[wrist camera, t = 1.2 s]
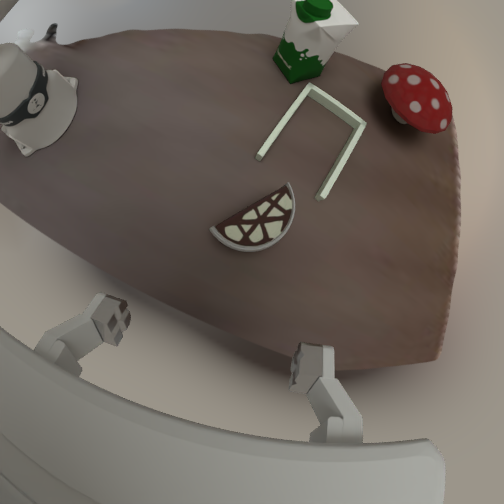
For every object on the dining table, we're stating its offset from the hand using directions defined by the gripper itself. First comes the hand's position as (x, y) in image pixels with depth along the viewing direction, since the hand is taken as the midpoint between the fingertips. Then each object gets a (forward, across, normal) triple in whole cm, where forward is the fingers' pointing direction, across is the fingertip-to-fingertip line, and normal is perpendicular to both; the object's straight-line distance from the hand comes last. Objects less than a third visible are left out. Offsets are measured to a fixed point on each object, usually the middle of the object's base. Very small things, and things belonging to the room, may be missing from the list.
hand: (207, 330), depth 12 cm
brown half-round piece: (+31, +1, +14) cm, 34 cm away
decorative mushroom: (+53, -23, -9) cm, 58 cm away
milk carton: (+51, -1, -13) cm, 52 cm away
